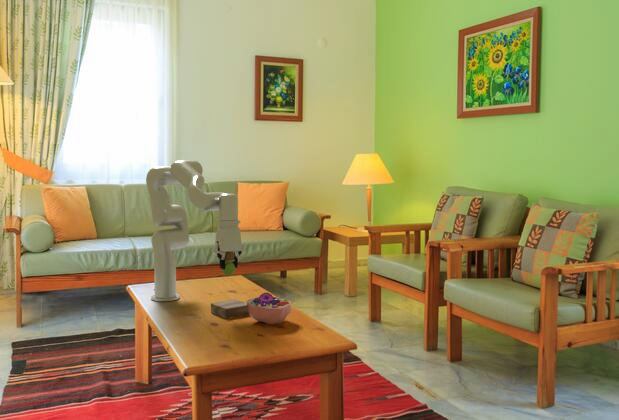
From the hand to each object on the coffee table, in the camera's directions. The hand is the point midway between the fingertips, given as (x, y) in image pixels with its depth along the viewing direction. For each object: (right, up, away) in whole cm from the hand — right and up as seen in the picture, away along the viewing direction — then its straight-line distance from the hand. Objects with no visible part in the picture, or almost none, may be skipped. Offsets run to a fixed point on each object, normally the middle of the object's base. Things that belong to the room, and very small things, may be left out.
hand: (228, 267), depth 258 cm
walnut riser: (+1, -19, +2) cm, 19 cm away
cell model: (+17, -21, -11) cm, 29 cm away
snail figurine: (-1, -3, 0) cm, 3 cm away
